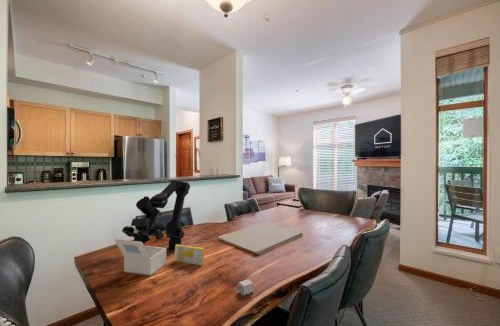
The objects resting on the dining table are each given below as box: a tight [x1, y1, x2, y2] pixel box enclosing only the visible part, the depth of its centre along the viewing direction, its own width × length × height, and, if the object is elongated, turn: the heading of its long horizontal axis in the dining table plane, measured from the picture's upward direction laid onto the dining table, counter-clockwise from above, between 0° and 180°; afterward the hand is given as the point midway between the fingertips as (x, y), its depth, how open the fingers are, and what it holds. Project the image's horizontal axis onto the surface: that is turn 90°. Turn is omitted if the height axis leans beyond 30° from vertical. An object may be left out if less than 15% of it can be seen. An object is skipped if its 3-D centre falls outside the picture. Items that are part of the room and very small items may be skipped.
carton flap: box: [114, 238, 150, 259], centre depth 101 cm, size 11×14×1 cm
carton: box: [123, 245, 167, 277], centre depth 110 cm, size 12×14×8 cm
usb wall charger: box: [233, 278, 254, 296], centre depth 90 cm, size 4×7×4 cm, turn 125°
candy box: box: [174, 244, 205, 267], centre depth 116 cm, size 16×2×8 cm, turn 71°
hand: (134, 250), depth 102 cm, fingers closed, pressing on carton flap
